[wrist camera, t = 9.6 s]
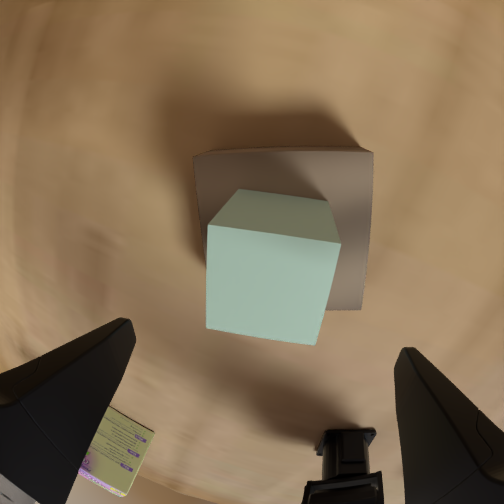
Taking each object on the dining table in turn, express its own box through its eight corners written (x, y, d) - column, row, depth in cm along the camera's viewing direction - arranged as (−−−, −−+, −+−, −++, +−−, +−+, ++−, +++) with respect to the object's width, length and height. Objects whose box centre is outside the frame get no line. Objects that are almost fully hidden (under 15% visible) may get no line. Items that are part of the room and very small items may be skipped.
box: (91, 409, 38) (58, 462, 28) (95, 395, 36) (58, 454, 25) (146, 442, 39) (121, 498, 29) (156, 432, 37) (128, 495, 26)
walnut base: (353, 280, 22) (361, 310, 19) (225, 278, 24) (212, 306, 20) (360, 146, 18) (373, 152, 15) (212, 150, 20) (192, 156, 16)
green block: (313, 279, 18) (314, 345, 13) (232, 267, 19) (205, 327, 13) (328, 201, 16) (341, 243, 11) (238, 188, 17) (207, 224, 11)
